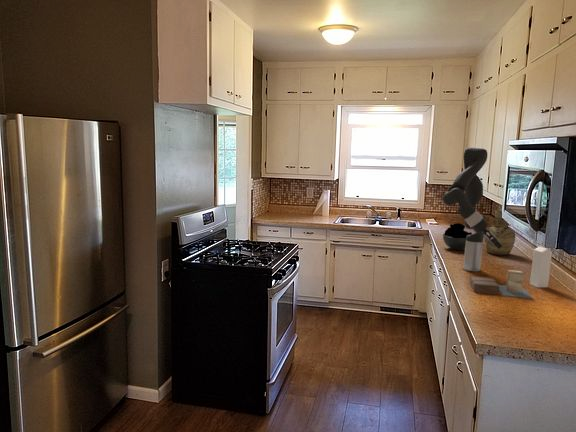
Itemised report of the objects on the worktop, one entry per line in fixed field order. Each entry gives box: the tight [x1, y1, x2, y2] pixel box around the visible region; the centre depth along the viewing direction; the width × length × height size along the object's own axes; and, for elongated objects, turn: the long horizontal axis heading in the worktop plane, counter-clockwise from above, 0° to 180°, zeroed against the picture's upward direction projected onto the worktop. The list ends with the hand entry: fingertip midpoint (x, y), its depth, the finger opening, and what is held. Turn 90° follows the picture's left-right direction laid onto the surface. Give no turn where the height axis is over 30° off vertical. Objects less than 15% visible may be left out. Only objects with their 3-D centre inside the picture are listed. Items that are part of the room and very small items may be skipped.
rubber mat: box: [498, 284, 534, 300], centre depth 219 cm, size 18×13×1 cm
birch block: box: [505, 269, 524, 293], centre depth 218 cm, size 4×6×10 cm, turn 76°
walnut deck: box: [469, 275, 500, 295], centre depth 222 cm, size 15×11×4 cm
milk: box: [529, 245, 553, 288], centre depth 230 cm, size 6×6×22 cm
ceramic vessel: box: [483, 210, 516, 257], centre depth 305 cm, size 19×21×30 cm
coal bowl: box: [442, 222, 473, 251], centre depth 314 cm, size 20×20×19 cm
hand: (498, 245), depth 218 cm, fingers open, 8 cm apart
